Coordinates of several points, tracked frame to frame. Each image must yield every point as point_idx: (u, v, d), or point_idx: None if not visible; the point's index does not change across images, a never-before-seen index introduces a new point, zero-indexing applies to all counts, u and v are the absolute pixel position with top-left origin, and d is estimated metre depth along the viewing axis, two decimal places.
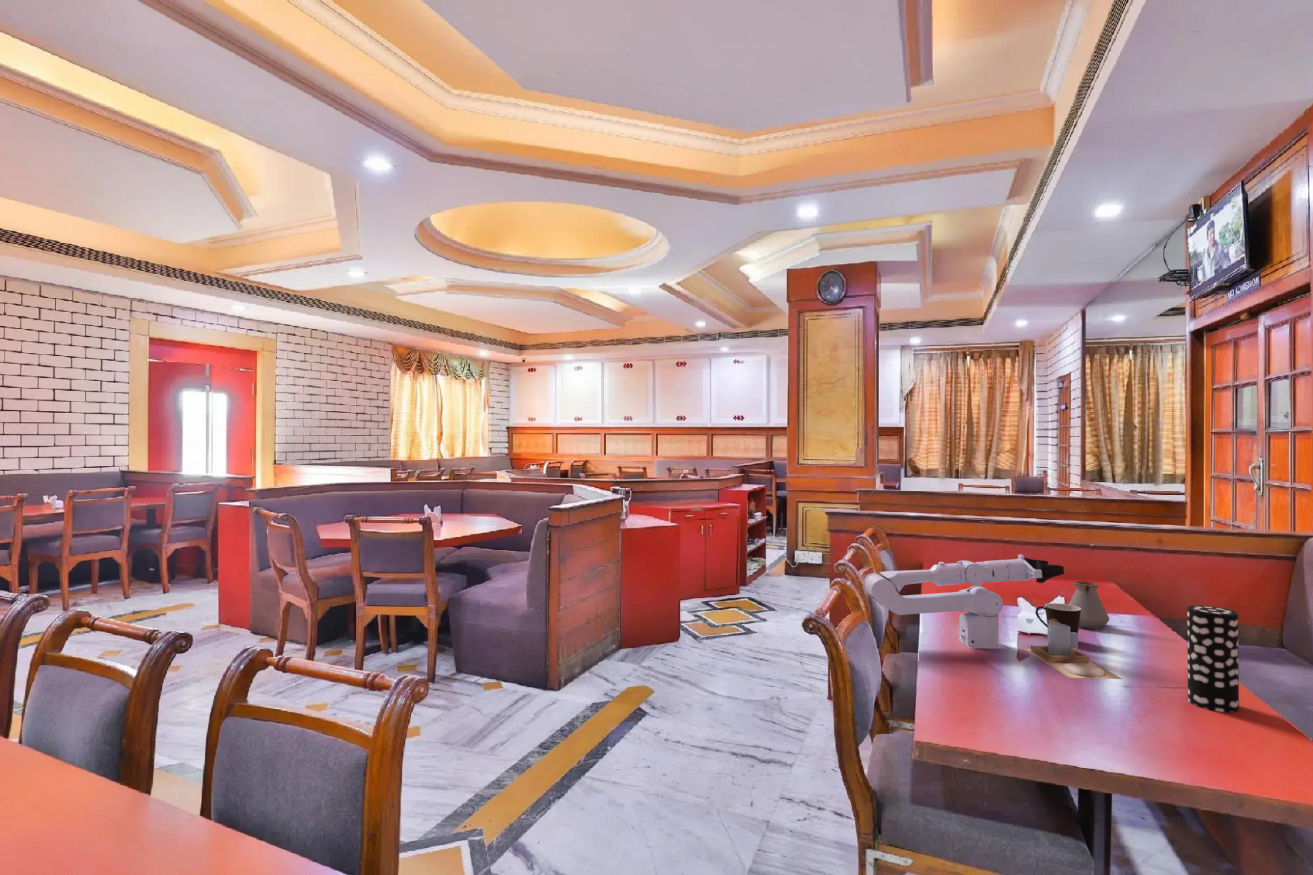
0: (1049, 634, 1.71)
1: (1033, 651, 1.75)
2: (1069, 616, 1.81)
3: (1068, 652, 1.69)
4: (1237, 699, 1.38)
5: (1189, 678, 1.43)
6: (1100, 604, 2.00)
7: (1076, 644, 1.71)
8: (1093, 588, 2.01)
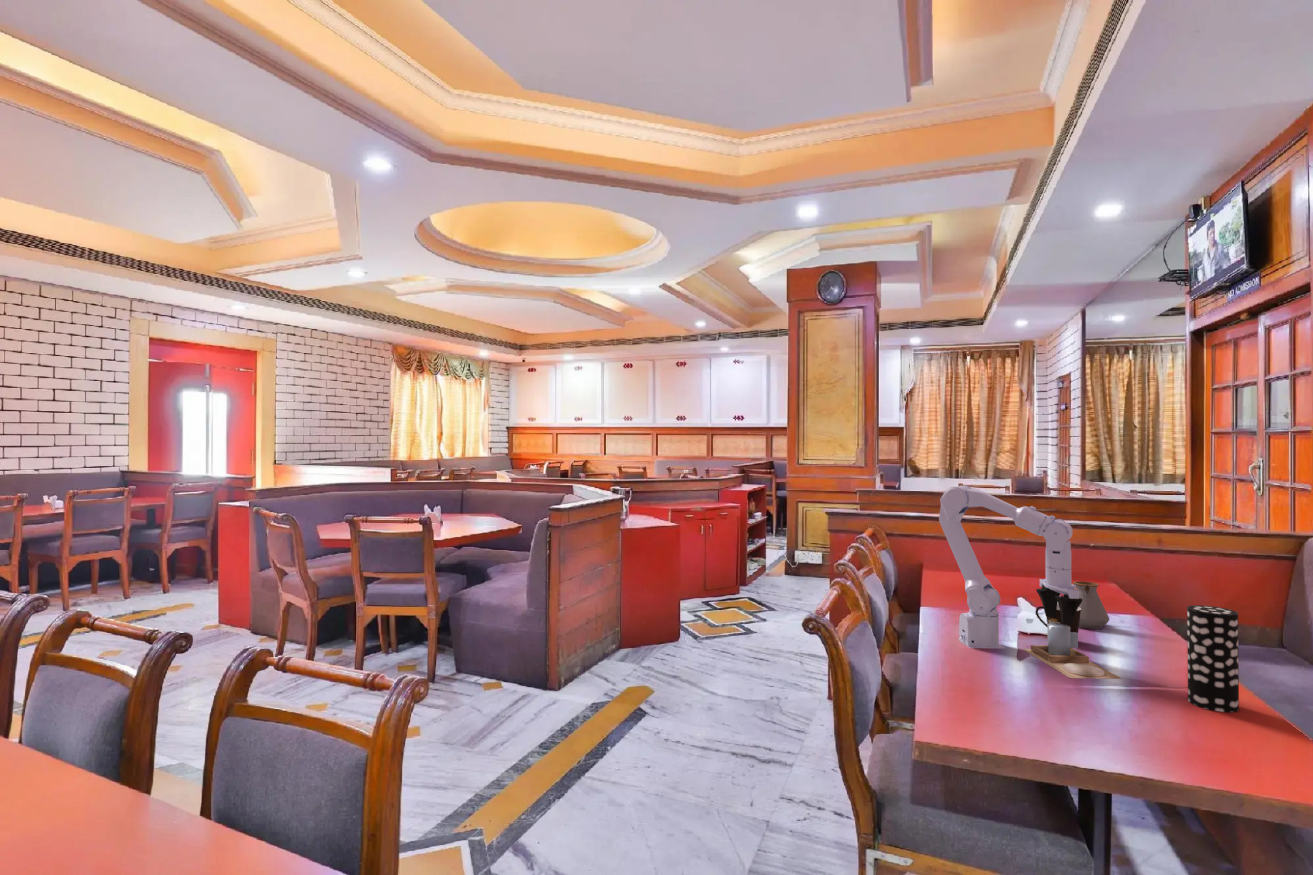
0: (1049, 634, 1.71)
1: (1033, 651, 1.75)
2: None
3: (1068, 652, 1.69)
4: (1237, 699, 1.38)
5: (1189, 678, 1.43)
6: (1100, 604, 2.00)
7: (1076, 644, 1.71)
8: (1093, 588, 2.01)
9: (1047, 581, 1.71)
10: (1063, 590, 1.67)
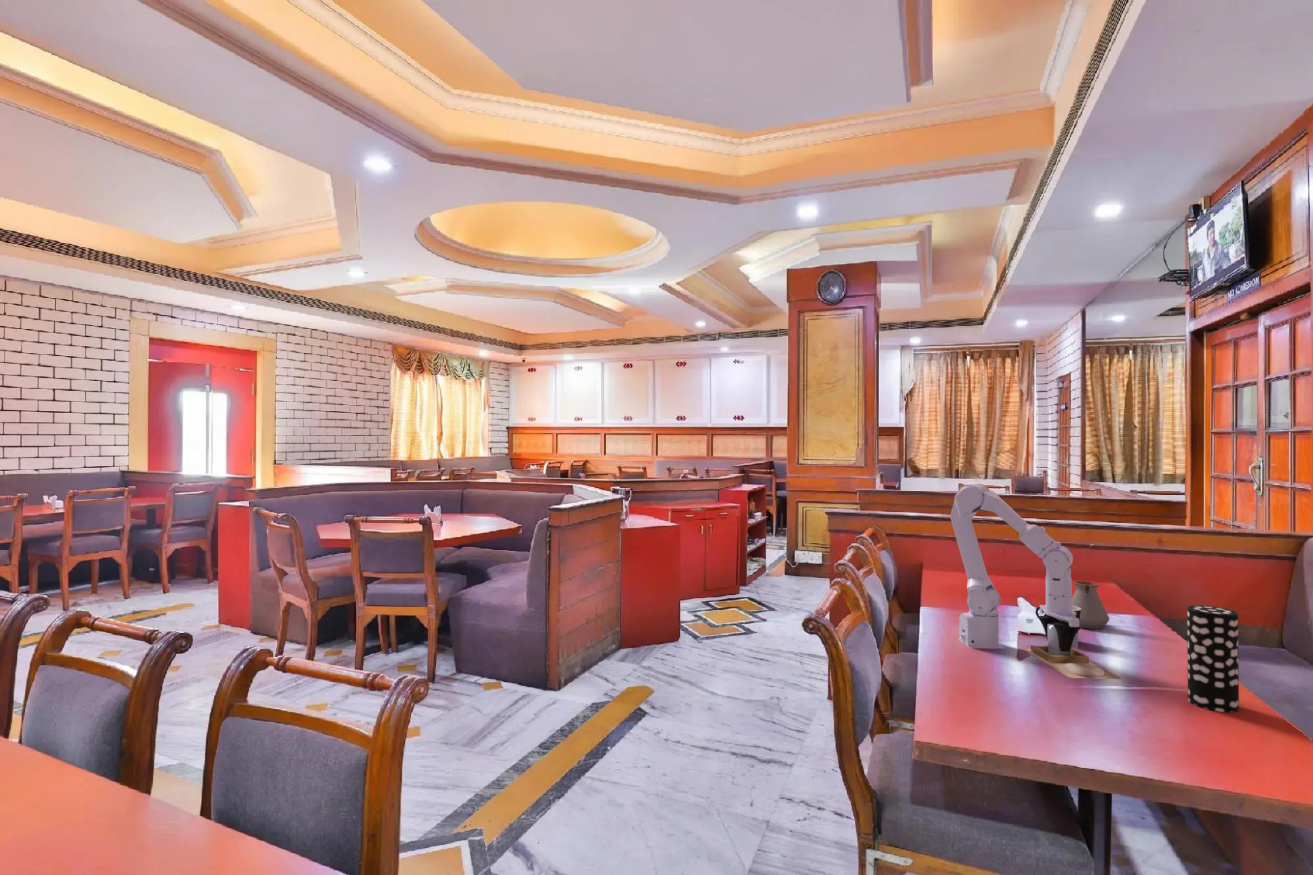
0: (1049, 634, 1.71)
1: (1033, 651, 1.75)
2: None
3: (1068, 652, 1.69)
4: (1237, 699, 1.38)
5: (1189, 678, 1.43)
6: (1100, 604, 2.00)
7: (1076, 644, 1.71)
8: (1093, 588, 2.01)
9: (1047, 608, 1.71)
10: (1063, 618, 1.67)
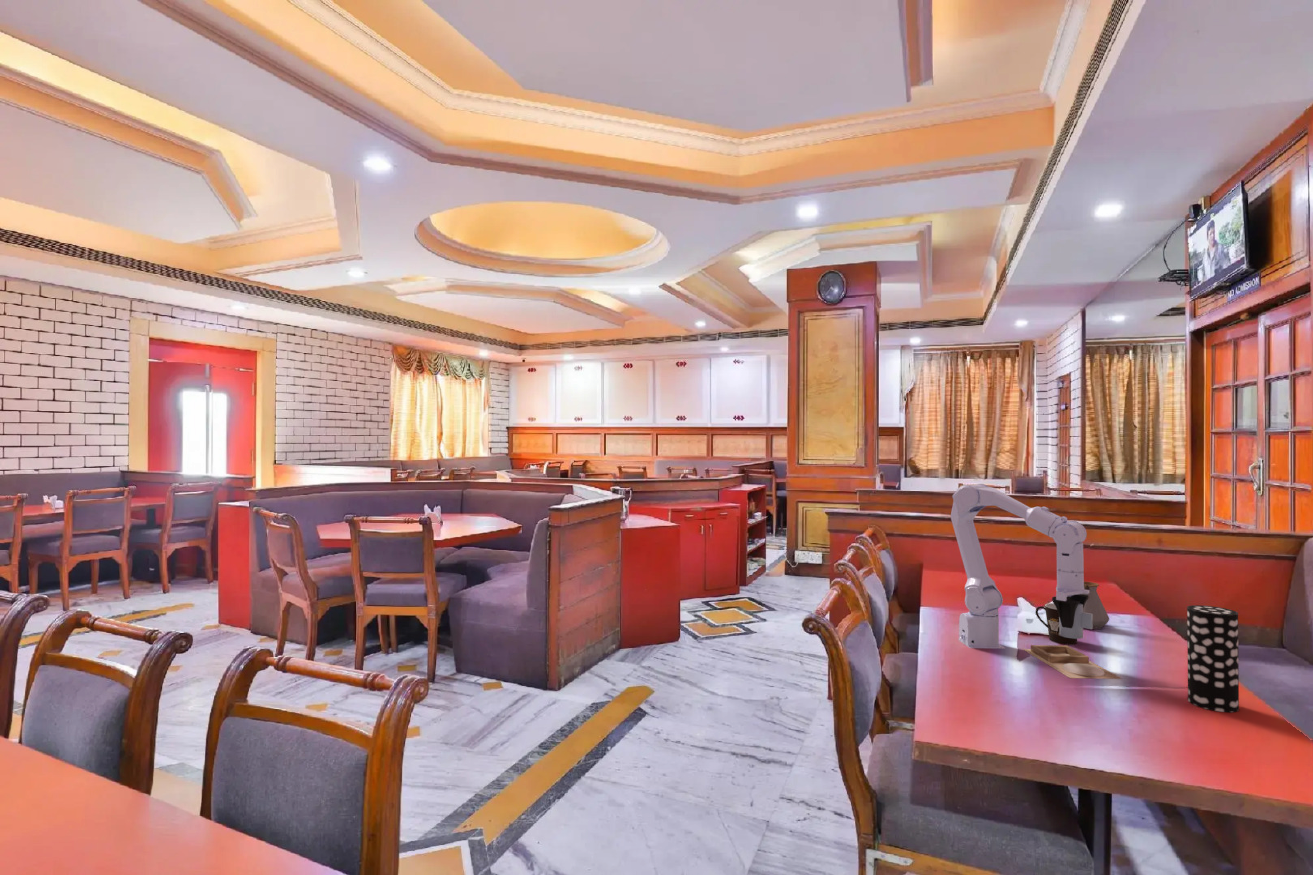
0: None
1: (1033, 651, 1.75)
2: None
3: (1074, 630, 1.64)
4: (1237, 699, 1.38)
5: (1189, 678, 1.43)
6: (1100, 604, 2.00)
7: (1089, 625, 1.63)
8: (1093, 588, 2.01)
9: None
10: (1057, 591, 1.64)
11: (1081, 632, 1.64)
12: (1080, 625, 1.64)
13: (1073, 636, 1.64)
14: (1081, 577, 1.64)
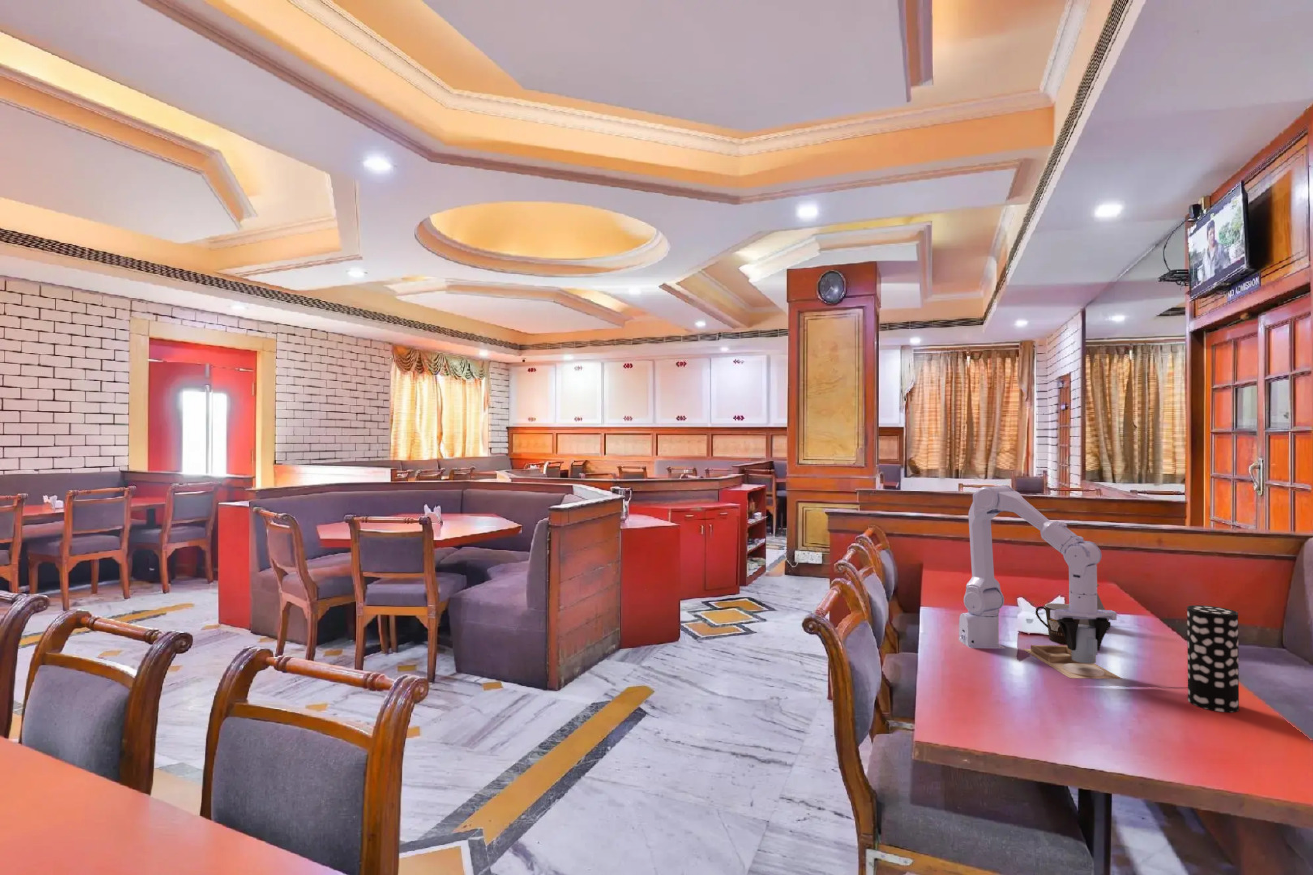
0: None
1: (1033, 651, 1.75)
2: None
3: (1077, 653, 1.60)
4: (1237, 699, 1.38)
5: (1189, 678, 1.43)
6: (1100, 604, 2.00)
7: (1091, 651, 1.57)
8: None
9: None
10: None
11: (1087, 657, 1.58)
12: (1085, 649, 1.59)
13: (1076, 659, 1.60)
14: (1086, 600, 1.58)
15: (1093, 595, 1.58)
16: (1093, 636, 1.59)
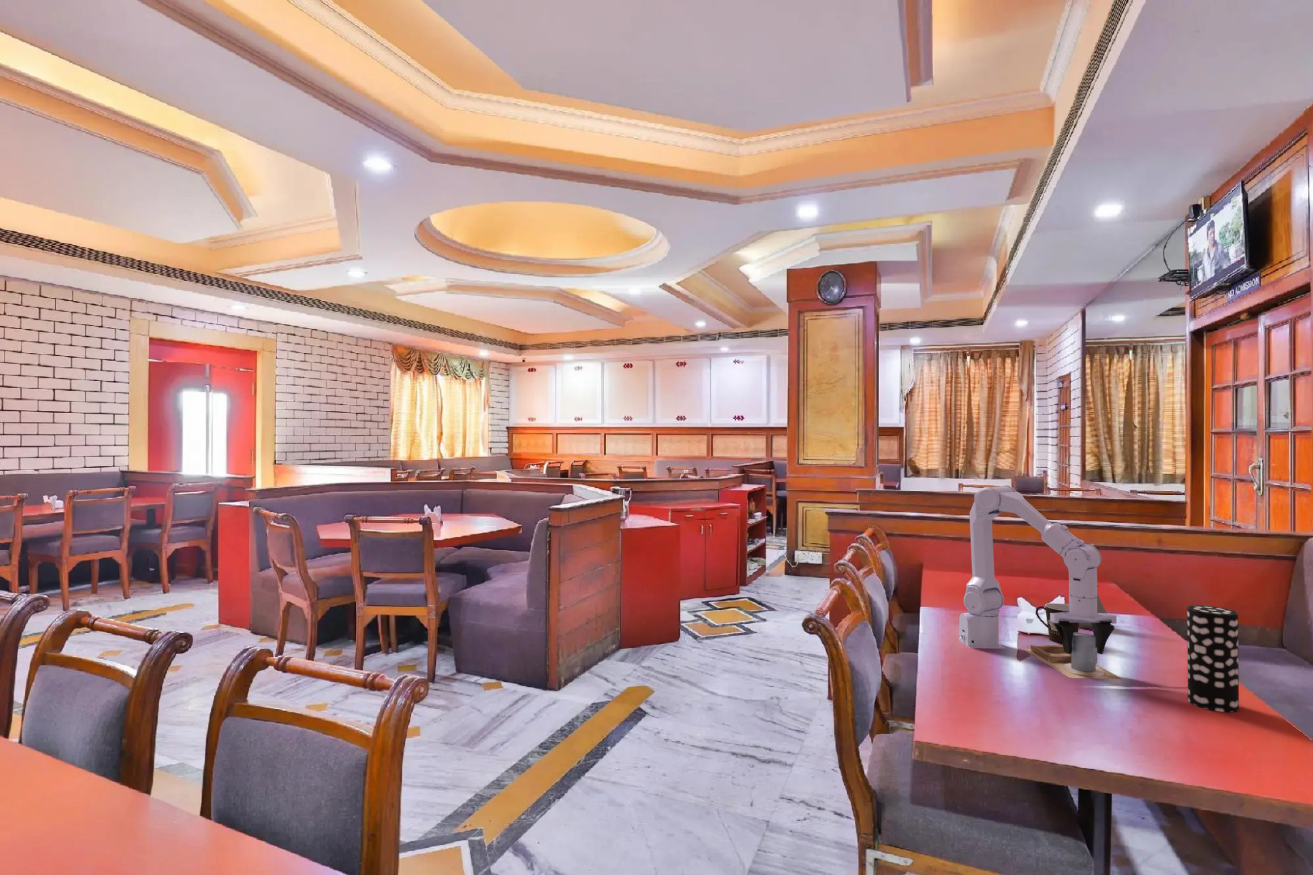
0: None
1: (1033, 651, 1.75)
2: None
3: (1077, 662, 1.60)
4: (1237, 699, 1.38)
5: (1189, 678, 1.43)
6: (1100, 604, 2.00)
7: (1091, 659, 1.57)
8: None
9: None
10: None
11: (1087, 665, 1.58)
12: (1085, 658, 1.59)
13: (1076, 667, 1.60)
14: (1086, 603, 1.58)
15: (1093, 598, 1.58)
16: (1093, 644, 1.59)
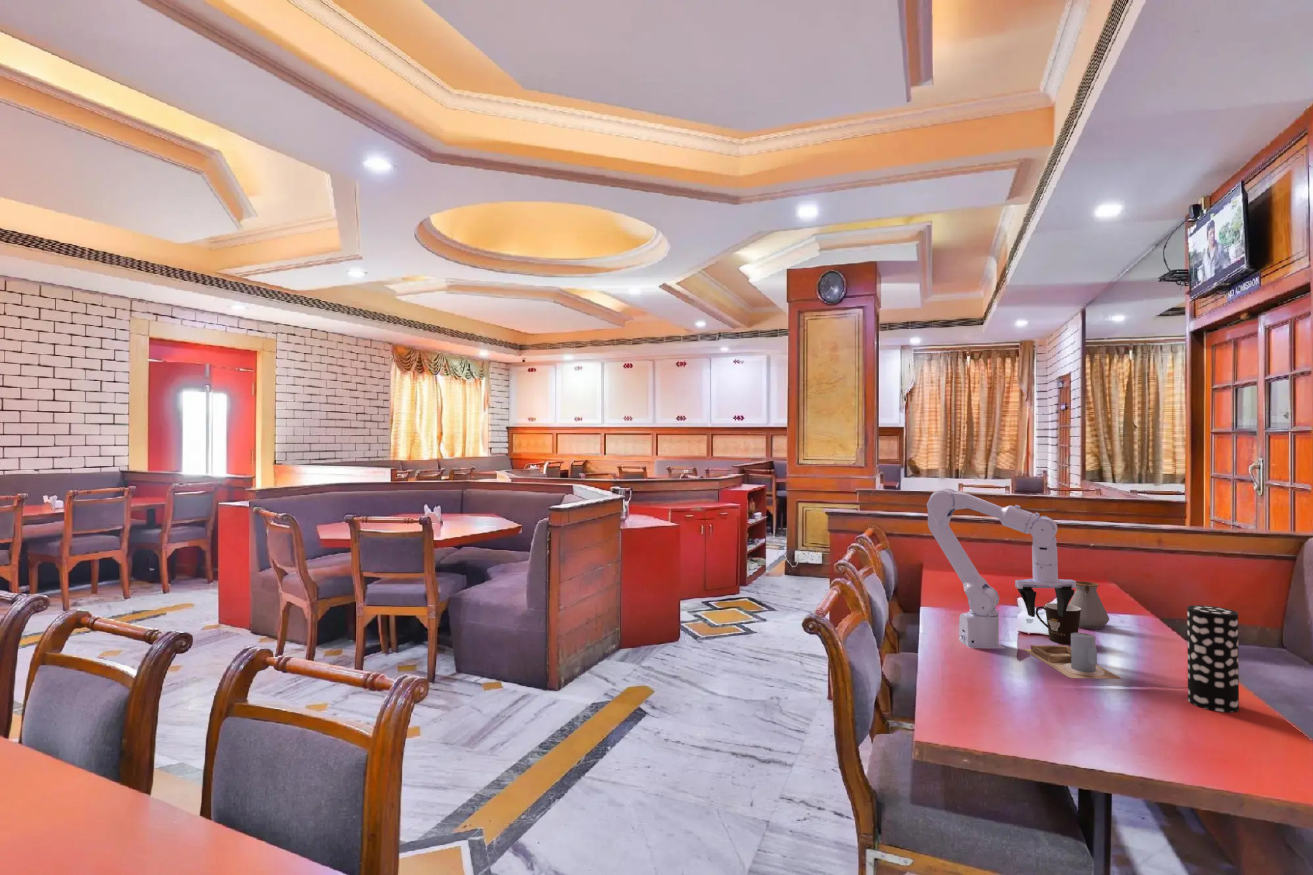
0: None
1: (1033, 651, 1.75)
2: (1069, 616, 1.81)
3: (1077, 662, 1.60)
4: (1237, 699, 1.38)
5: (1189, 678, 1.43)
6: (1100, 604, 2.00)
7: (1091, 660, 1.57)
8: (1093, 588, 2.01)
9: None
10: None
11: (1087, 666, 1.58)
12: (1084, 658, 1.59)
13: (1076, 668, 1.60)
14: (1047, 570, 1.72)
15: (1054, 565, 1.72)
16: (1093, 645, 1.58)
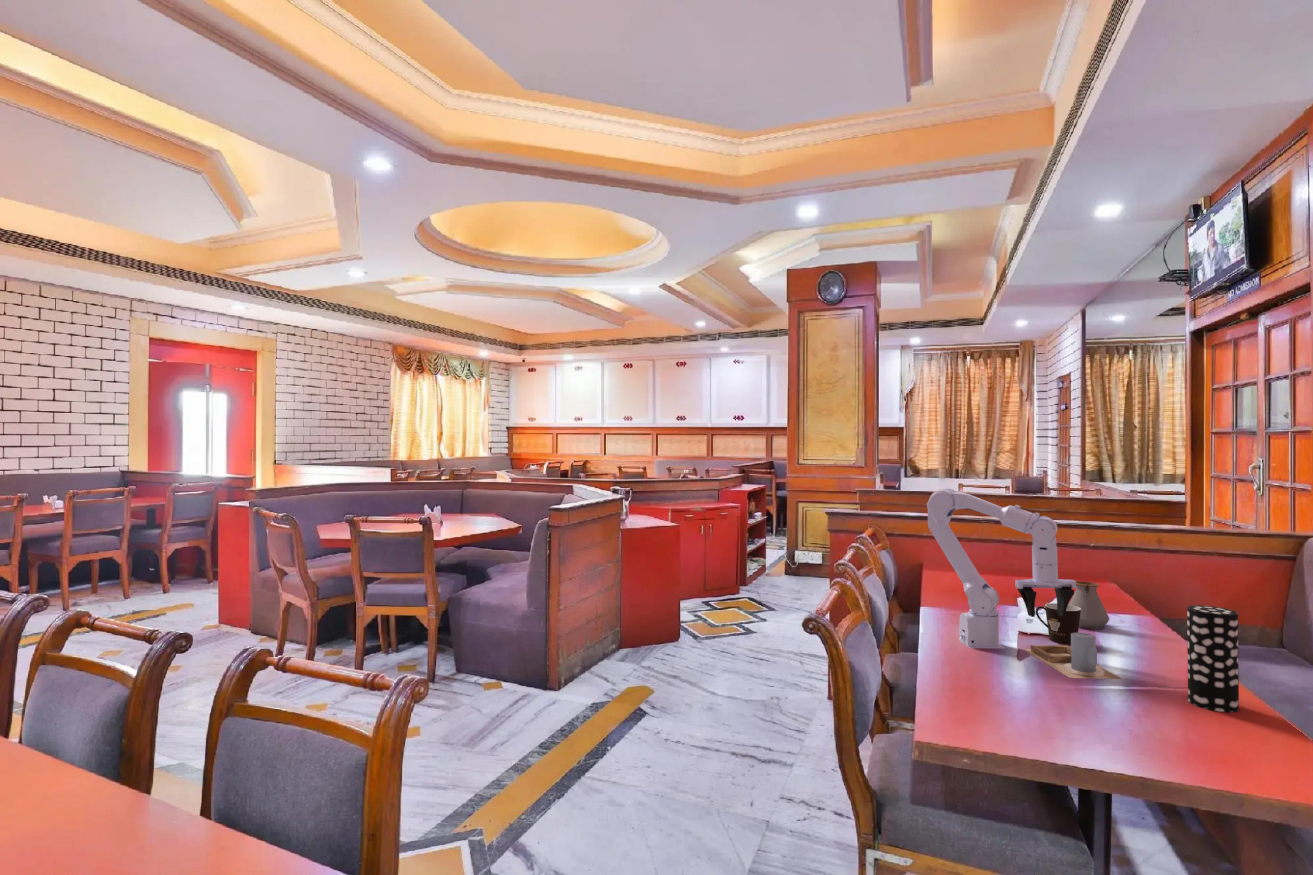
0: None
1: (1033, 651, 1.75)
2: (1069, 616, 1.81)
3: (1077, 662, 1.60)
4: (1237, 699, 1.38)
5: (1189, 678, 1.43)
6: (1100, 604, 2.00)
7: (1091, 660, 1.57)
8: (1093, 588, 2.01)
9: None
10: None
11: (1087, 666, 1.58)
12: (1084, 658, 1.58)
13: (1076, 668, 1.60)
14: (1047, 570, 1.72)
15: (1054, 565, 1.72)
16: (1093, 645, 1.58)
